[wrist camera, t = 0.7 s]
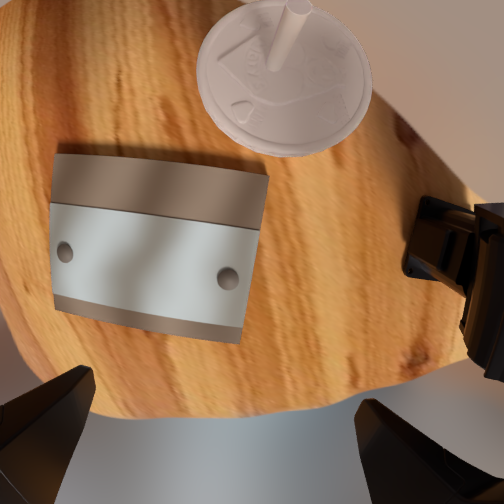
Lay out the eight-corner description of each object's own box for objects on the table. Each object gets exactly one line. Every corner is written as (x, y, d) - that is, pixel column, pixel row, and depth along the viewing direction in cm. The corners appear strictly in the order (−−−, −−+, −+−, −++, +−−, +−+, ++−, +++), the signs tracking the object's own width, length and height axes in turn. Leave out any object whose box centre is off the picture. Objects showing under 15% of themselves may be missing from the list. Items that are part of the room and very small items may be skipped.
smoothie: (217, 66, 17) (195, -82, 3) (313, 76, 17) (430, -33, 4) (209, 158, 19) (150, 138, 5) (307, 166, 19) (446, 175, 6)
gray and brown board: (267, 175, 19) (270, 176, 18) (239, 337, 22) (239, 346, 21) (61, 153, 18) (52, 153, 16) (60, 304, 21) (53, 311, 19)
